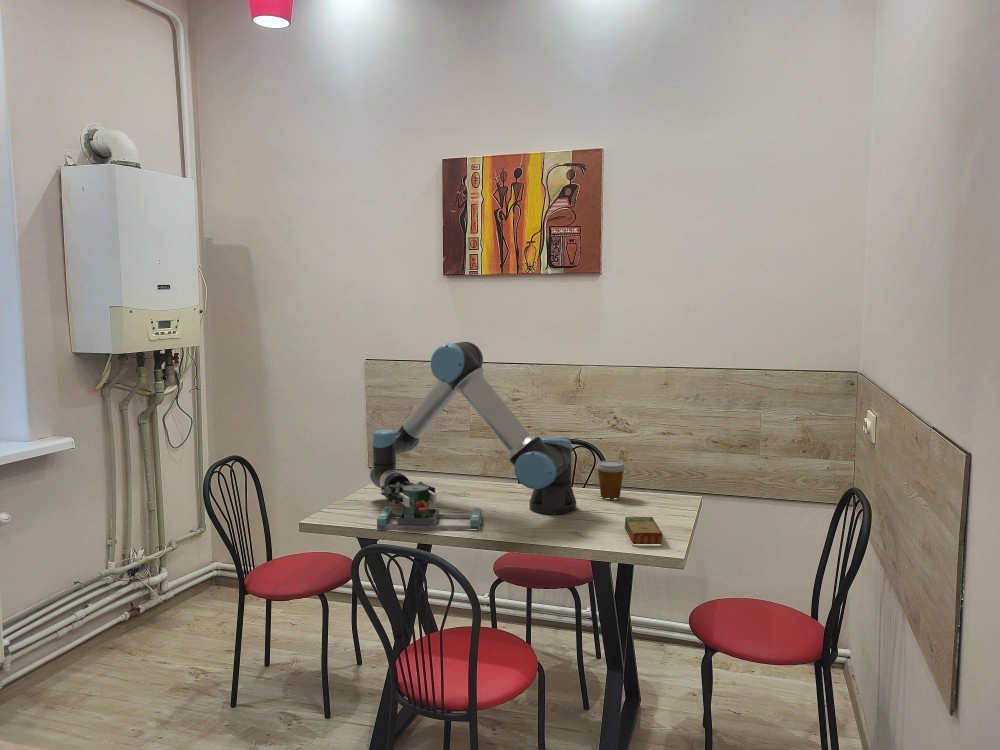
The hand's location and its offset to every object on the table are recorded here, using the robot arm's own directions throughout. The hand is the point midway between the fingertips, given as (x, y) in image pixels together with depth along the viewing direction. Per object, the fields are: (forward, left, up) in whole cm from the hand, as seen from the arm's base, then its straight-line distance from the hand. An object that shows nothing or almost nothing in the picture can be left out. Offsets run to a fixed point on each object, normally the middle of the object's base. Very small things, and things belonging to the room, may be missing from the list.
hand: (421, 500), depth 226 cm
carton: (-64, +6, -9) cm, 65 cm away
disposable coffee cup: (-60, -36, -8) cm, 70 cm away
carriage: (+1, -4, -7) cm, 8 cm away
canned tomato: (+2, -4, -8) cm, 9 cm away
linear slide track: (-2, -4, -8) cm, 9 cm away
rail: (-2, -4, -8) cm, 9 cm away
